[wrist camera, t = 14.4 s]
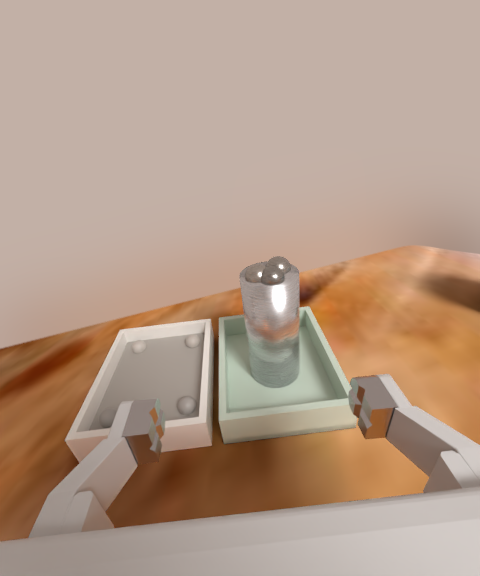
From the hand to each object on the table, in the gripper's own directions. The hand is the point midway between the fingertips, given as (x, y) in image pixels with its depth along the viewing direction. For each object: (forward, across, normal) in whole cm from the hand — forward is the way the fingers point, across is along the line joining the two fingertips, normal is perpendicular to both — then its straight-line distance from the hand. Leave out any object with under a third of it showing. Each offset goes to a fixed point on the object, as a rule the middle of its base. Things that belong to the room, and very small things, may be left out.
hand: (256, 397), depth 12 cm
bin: (+13, -3, +12) cm, 18 cm away
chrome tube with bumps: (+13, -3, +12) cm, 18 cm away
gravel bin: (+13, +9, +13) cm, 20 cm away
